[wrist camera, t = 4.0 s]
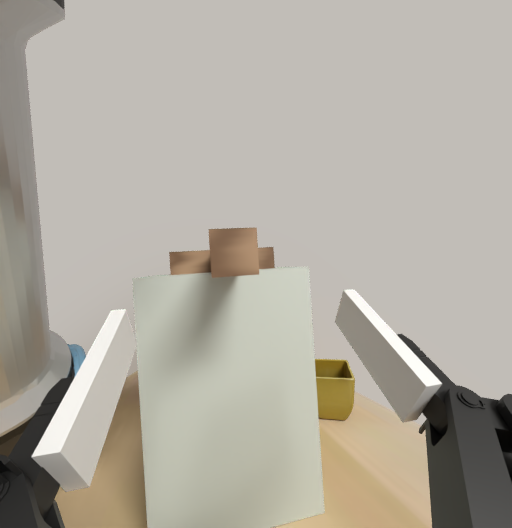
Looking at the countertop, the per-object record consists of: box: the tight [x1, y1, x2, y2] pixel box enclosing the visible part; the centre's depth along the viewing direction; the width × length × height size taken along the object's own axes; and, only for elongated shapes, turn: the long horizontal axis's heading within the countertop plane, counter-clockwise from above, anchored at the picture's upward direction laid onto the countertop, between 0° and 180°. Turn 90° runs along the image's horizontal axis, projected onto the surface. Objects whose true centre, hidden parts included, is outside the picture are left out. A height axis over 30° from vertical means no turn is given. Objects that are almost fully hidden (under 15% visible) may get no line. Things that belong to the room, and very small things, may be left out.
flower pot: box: [315, 359, 355, 420], centre depth 46 cm, size 9×9×9 cm
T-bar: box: [169, 228, 275, 278], centre depth 25 cm, size 14×21×3 cm, turn 10°
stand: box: [132, 267, 325, 528], centre depth 31 cm, size 20×10×30 cm, turn 100°
